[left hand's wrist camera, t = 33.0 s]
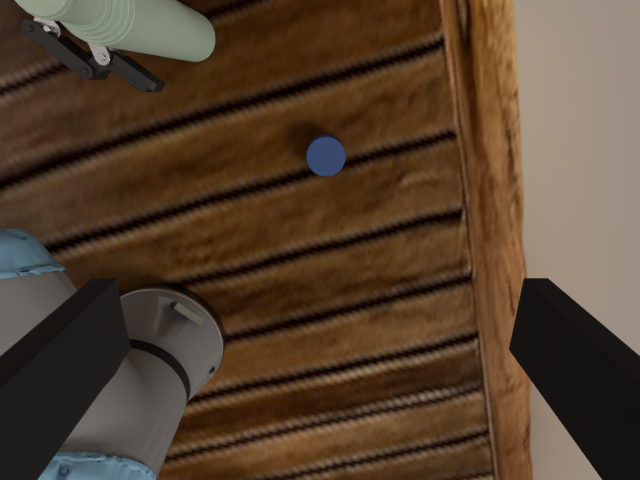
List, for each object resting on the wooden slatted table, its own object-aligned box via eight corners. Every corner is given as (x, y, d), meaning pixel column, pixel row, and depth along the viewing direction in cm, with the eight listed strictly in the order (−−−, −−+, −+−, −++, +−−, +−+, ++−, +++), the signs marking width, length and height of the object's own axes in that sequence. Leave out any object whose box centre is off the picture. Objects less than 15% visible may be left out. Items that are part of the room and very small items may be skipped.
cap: (299, 148, 41) (298, 151, 39) (331, 126, 41) (331, 128, 39) (320, 178, 43) (320, 183, 41) (351, 158, 42) (352, 162, 40)
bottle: (224, 47, 38) (106, 4, 17) (187, 70, 39) (32, 54, 18) (198, 1, 37) (38, -105, 16) (160, 26, 37) (-39, -45, 17)
